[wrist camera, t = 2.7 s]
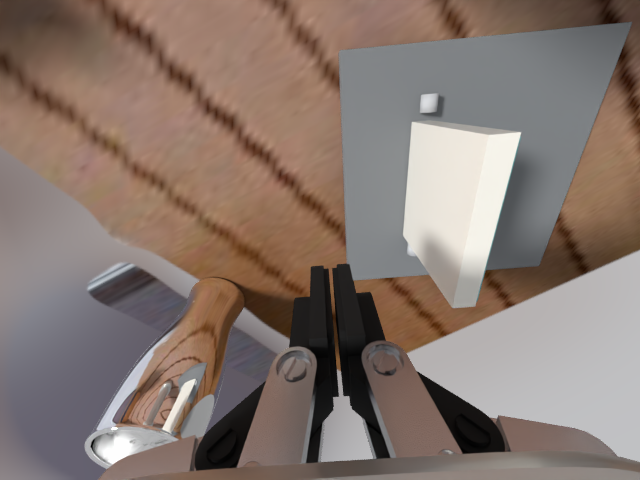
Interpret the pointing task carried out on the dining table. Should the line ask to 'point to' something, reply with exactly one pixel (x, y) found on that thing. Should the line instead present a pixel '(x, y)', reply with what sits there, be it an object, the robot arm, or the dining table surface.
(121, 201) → the dining table surface
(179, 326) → the beer glass
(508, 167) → the tile
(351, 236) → the mat
